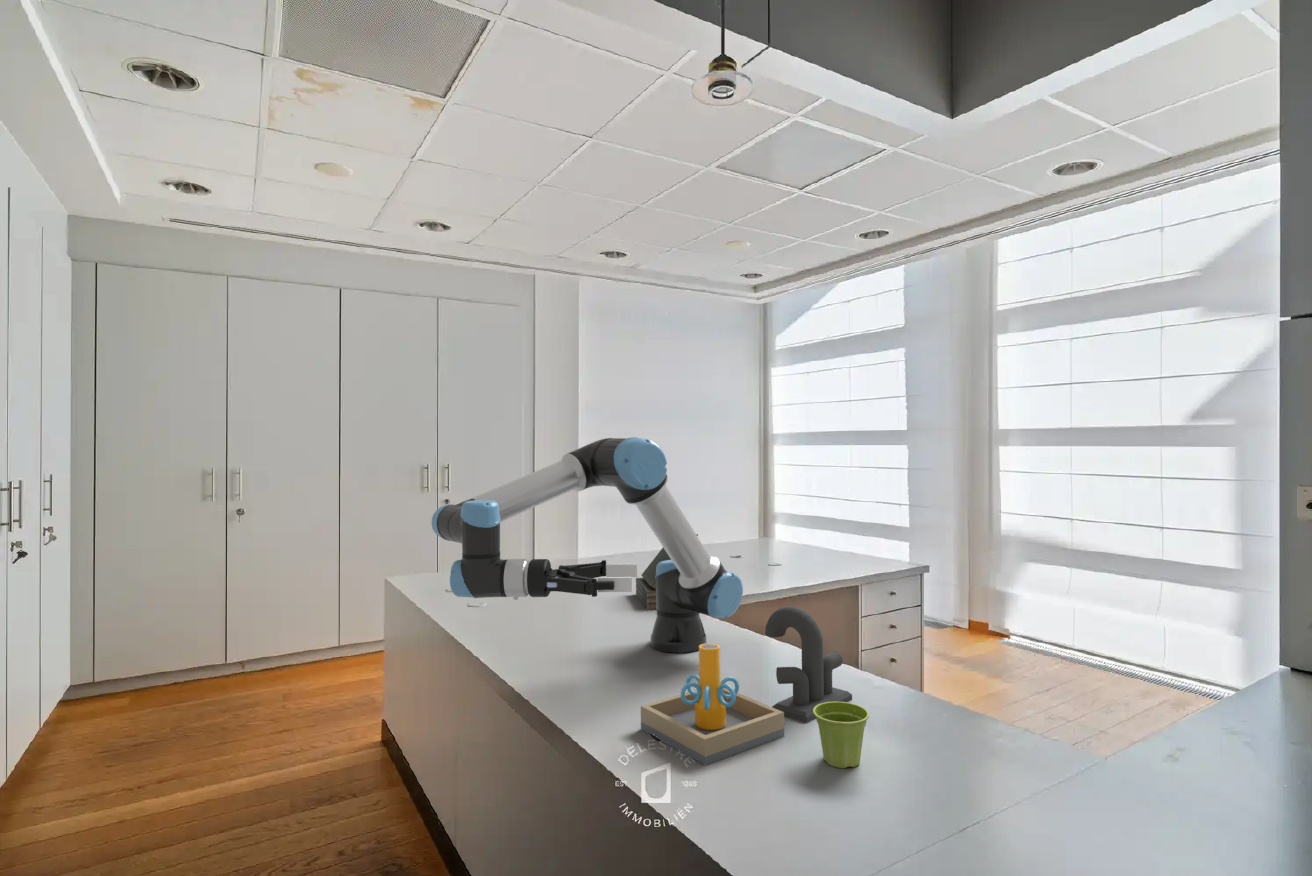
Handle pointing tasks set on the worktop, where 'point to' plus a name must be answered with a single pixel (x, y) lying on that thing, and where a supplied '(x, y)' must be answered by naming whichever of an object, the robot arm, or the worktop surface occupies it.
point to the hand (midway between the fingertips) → (634, 577)
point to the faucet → (805, 666)
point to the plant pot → (841, 732)
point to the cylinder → (710, 690)
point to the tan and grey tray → (741, 732)
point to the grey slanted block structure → (650, 581)
